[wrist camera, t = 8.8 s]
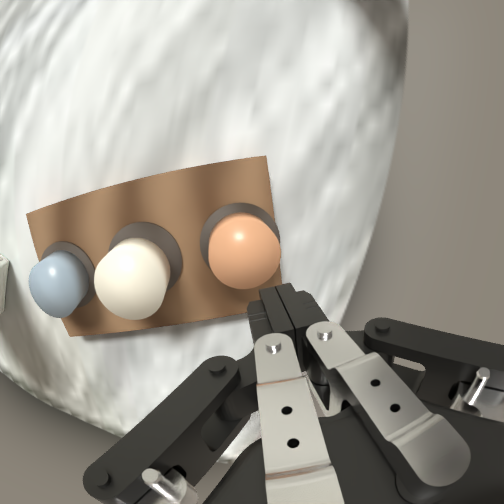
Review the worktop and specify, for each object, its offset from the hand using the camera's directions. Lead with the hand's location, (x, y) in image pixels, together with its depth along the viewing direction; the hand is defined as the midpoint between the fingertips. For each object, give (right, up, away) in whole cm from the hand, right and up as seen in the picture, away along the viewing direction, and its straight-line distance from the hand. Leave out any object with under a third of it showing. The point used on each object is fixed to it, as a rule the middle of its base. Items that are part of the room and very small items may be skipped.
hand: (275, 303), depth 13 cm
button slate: (-18, 0, +8) cm, 19 cm away
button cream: (-10, +1, +7) cm, 12 cm away
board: (-10, +2, +10) cm, 15 cm away
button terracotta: (-2, +3, +9) cm, 10 cm away
